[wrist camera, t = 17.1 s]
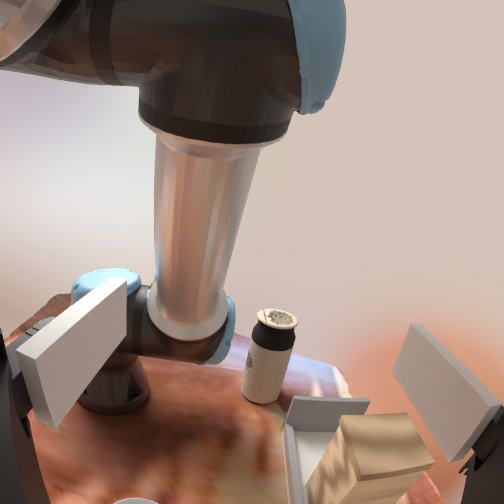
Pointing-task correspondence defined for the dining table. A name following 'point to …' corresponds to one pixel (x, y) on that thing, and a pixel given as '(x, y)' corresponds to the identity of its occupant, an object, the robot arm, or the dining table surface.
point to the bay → (311, 436)
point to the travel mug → (268, 355)
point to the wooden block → (369, 461)
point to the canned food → (135, 501)
